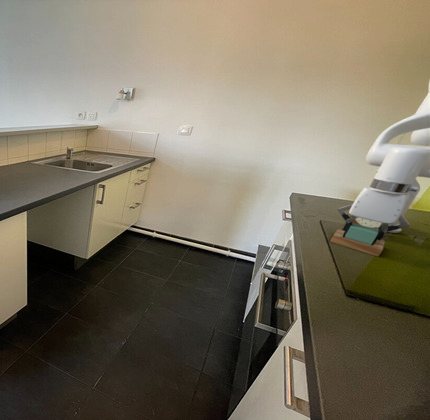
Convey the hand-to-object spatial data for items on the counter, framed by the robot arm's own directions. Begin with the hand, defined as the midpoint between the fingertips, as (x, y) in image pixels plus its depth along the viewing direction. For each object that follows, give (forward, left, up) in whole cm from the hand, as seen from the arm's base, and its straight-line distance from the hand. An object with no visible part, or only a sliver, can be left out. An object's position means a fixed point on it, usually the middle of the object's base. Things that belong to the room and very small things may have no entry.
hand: (359, 236), depth 84 cm
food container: (-22, +2, -3) cm, 22 cm away
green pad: (0, 0, -1) cm, 1 cm away
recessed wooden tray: (0, 0, -3) cm, 3 cm away
